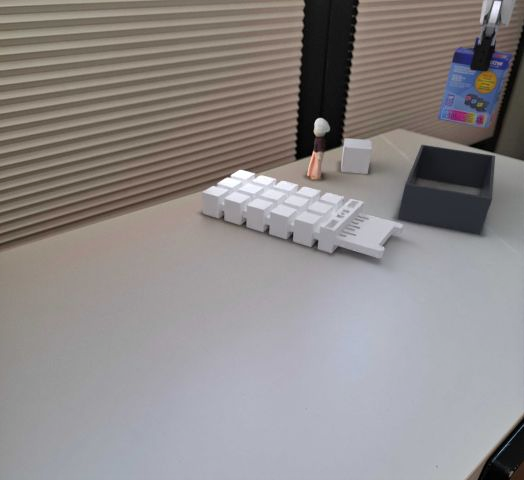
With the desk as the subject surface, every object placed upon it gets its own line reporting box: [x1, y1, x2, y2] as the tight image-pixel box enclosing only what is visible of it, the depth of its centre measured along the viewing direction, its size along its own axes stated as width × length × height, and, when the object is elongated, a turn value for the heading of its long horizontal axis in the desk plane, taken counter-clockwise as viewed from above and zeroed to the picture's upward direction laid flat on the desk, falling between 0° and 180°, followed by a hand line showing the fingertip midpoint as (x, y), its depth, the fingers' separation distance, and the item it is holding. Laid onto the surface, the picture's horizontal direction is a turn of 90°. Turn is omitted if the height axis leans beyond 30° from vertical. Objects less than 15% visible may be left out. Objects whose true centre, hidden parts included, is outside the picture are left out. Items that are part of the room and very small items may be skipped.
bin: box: [397, 144, 496, 236], centre depth 102 cm, size 23×15×8 cm, turn 159°
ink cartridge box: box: [437, 36, 514, 129], centre depth 96 cm, size 10×6×14 cm, turn 61°
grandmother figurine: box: [306, 117, 331, 181], centre depth 108 cm, size 8×4×13 cm, turn 6°
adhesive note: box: [340, 137, 373, 175], centre depth 115 cm, size 6×6×6 cm
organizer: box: [202, 169, 404, 259], centre depth 93 cm, size 13×5×35 cm
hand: (479, 65), depth 95 cm, fingers closed on ink cartridge box, 5 cm apart
